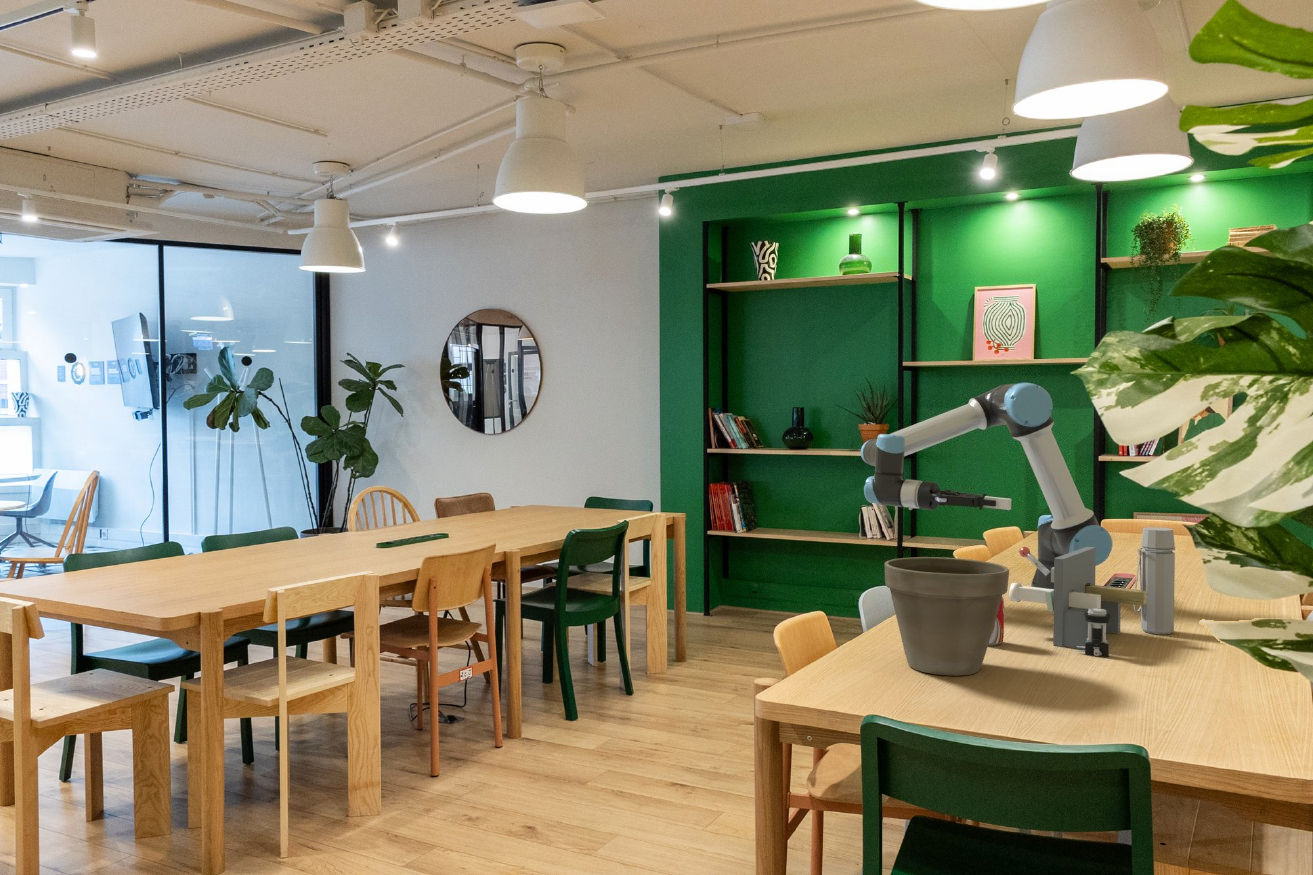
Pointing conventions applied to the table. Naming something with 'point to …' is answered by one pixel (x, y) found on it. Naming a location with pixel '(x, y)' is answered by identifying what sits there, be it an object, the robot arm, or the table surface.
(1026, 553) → the toggle lever
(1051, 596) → the rocker
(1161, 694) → the table surface
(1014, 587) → the white plunger
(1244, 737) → the table surface
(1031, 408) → the robot arm
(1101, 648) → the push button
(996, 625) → the soda can
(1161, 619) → the water bottle
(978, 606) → the plant pot
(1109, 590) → the brass plunger
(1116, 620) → the panel
